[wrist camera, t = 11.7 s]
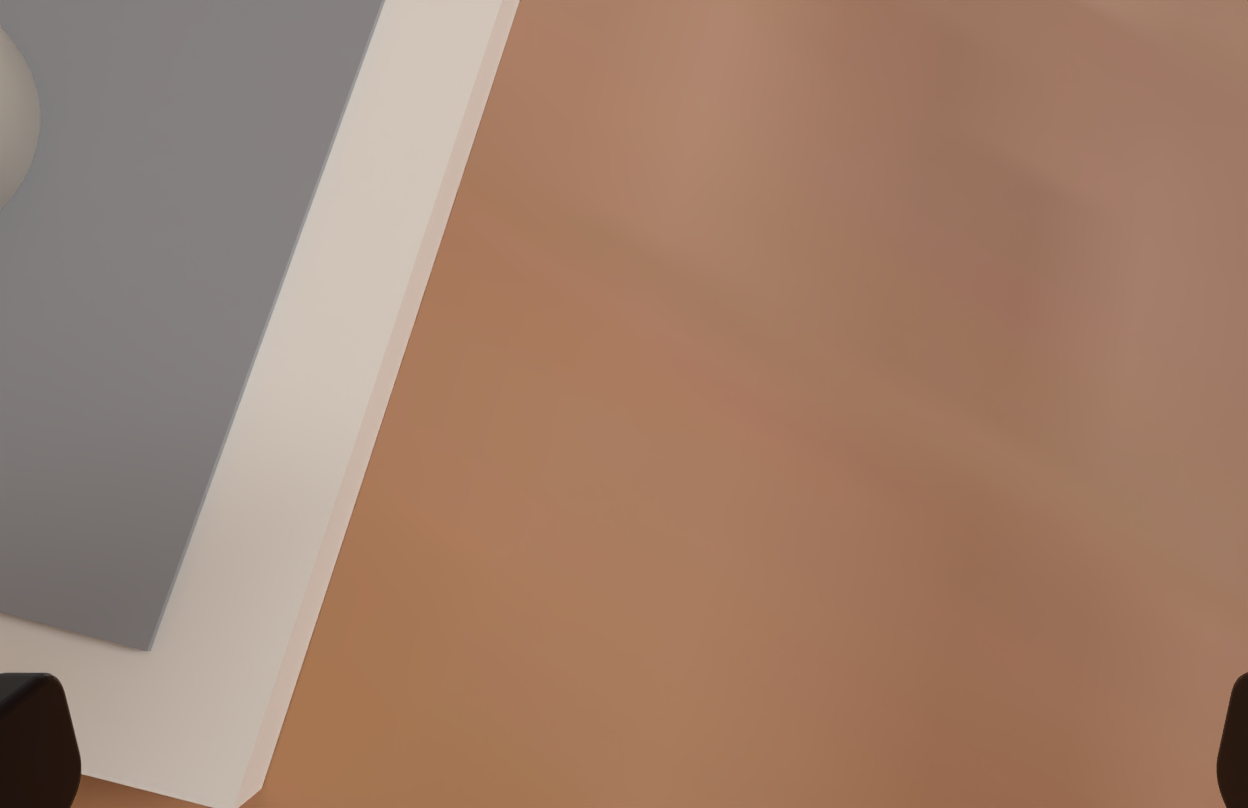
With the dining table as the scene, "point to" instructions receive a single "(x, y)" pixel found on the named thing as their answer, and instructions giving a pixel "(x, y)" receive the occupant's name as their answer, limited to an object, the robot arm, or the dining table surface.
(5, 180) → the cream vase
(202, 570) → the base plate
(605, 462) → the dining table surface
